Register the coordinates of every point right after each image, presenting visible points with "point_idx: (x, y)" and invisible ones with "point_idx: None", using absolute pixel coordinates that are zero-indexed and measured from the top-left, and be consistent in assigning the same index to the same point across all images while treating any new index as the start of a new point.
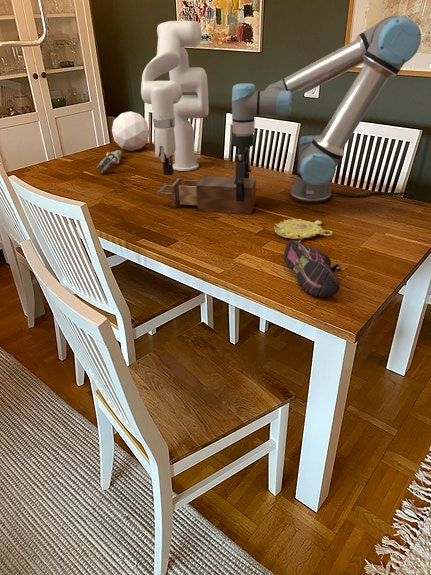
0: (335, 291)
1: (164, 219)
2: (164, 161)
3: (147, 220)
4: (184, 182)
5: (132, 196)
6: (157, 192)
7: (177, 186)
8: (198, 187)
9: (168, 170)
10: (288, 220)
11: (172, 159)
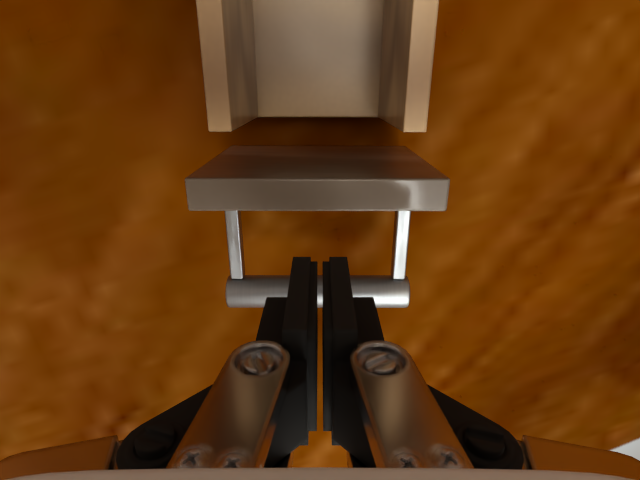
0: None
1: (577, 163)
2: (630, 470)
3: (584, 256)
4: (236, 121)
5: None
6: (407, 304)
7: (331, 168)
8: None
9: (376, 319)
10: None
11: (217, 377)
